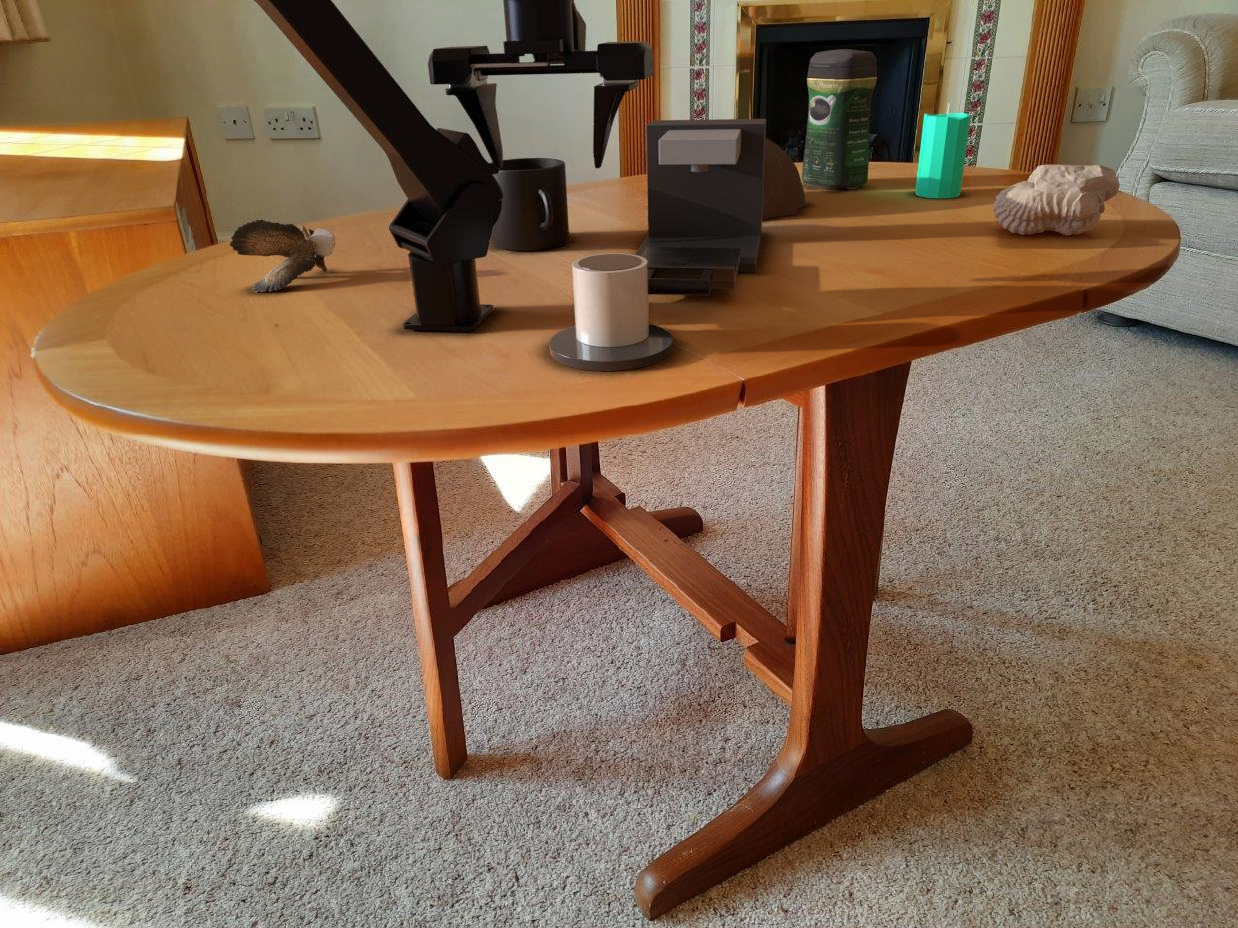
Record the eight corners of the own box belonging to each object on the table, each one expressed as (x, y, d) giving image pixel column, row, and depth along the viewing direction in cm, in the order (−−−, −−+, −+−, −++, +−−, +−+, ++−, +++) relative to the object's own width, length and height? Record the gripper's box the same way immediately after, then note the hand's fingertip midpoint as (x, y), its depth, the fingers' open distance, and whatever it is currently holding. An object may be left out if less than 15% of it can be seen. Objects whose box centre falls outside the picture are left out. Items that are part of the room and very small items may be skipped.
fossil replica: (976, 229, 106) (1024, 255, 98) (985, 158, 101) (1036, 179, 93) (1068, 214, 107) (1124, 239, 99) (1081, 143, 103) (1140, 162, 95)
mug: (514, 261, 99) (506, 176, 95) (480, 240, 108) (472, 162, 104) (591, 249, 102) (587, 168, 98) (551, 230, 112) (546, 155, 108)
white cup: (643, 348, 70) (641, 272, 67) (568, 346, 71) (563, 271, 68) (653, 324, 75) (652, 253, 72) (584, 322, 76) (580, 252, 73)
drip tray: (729, 306, 77) (730, 282, 76) (616, 303, 78) (615, 280, 78) (741, 255, 92) (742, 234, 91) (646, 254, 94) (646, 234, 93)
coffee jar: (876, 187, 131) (889, 48, 123) (835, 193, 128) (846, 51, 119) (832, 178, 139) (841, 47, 130) (792, 184, 135) (799, 50, 127)
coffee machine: (755, 272, 91) (760, 139, 85) (630, 270, 93) (627, 140, 88) (761, 234, 106) (766, 118, 101) (654, 233, 109) (652, 120, 103)
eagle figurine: (291, 255, 99) (219, 259, 92) (313, 203, 96) (239, 202, 88) (332, 300, 98) (261, 307, 90) (355, 248, 94) (283, 251, 86)
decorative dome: (820, 196, 126) (825, 121, 121) (782, 226, 110) (786, 141, 105) (692, 190, 133) (692, 119, 129) (639, 217, 117) (637, 137, 113)
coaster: (664, 373, 67) (664, 363, 66) (535, 369, 69) (535, 359, 68) (679, 330, 76) (679, 321, 75) (565, 327, 77) (565, 318, 77)
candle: (915, 197, 123) (925, 105, 117) (915, 190, 128) (925, 100, 123) (960, 198, 121) (974, 104, 116) (959, 191, 126) (971, 100, 121)
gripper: (661, -31, 79) (662, 154, 86) (460, -22, 82) (478, 155, 89) (641, -36, 69) (645, 173, 76) (414, -26, 72) (438, 174, 79)
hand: (548, 168), depth 80 cm, fingers open, 9 cm apart
